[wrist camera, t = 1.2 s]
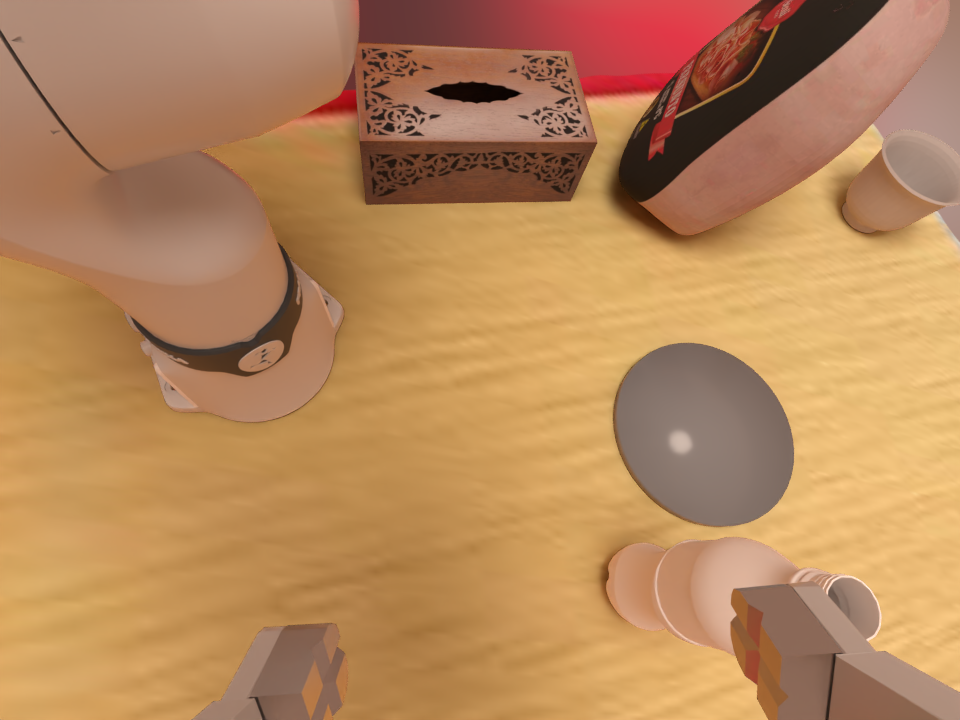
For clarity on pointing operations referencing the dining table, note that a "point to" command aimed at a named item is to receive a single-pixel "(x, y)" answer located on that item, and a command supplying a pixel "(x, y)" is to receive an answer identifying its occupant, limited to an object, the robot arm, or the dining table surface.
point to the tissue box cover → (470, 124)
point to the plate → (703, 435)
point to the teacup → (903, 183)
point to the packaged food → (773, 104)
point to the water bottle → (717, 587)
